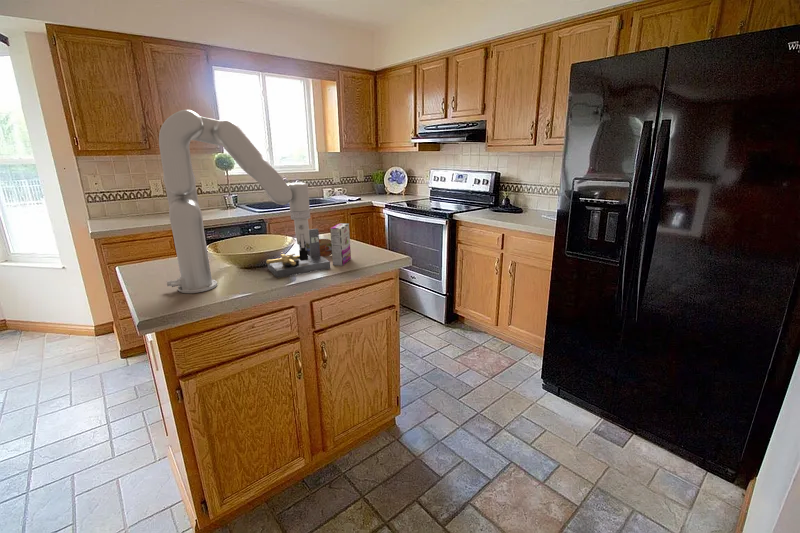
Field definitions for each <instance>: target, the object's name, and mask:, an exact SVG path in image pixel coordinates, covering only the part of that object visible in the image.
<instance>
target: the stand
mask: <svg viewBox="0 0 800 533" xmlns="http://www.w3.org/2000/svg"><path fill="white" fill-rule="evenodd" d="M309 236H310V244H309V245H310V256H309V255H308V260H302V261H301V260H300V259H296V260H299V264H298V265H294V266H284V265H282V262H277V263H271V264H267V263H266V265H267V270H268V269H269V270H268V271H269V272H270V273H271V274H273V275H274V276H275V277H276V278H277V279H279V278H278V277H280V278H285V277H290V275H291V276H297V275H302V274H306V273H312V272H318V271H323V270H328V269H331V261H329V260H328V259H327V258H326V257H321V256H320V247H319V239H320V235H319V228H312V229H310V228H309ZM296 274H297V275H296ZM284 276H285V277H284Z"/></svg>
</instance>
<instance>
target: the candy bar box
mask: <svg viewBox="0 0 800 533" xmlns="http://www.w3.org/2000/svg"><path fill="white" fill-rule="evenodd" d="M329 230H330V240H331V246H332V255H331V257H332V258H331V259H332V265H333V266H339V267H341V266H345V265H346V264H347V263H348V262H349V261H350V260H351V259H352V254H351V253H352V251H351V237H350V223H338V224H335V225H334V226H332V227H330V228H329Z"/></svg>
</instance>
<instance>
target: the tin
mask: <svg viewBox="0 0 800 533" xmlns="http://www.w3.org/2000/svg"><path fill="white" fill-rule="evenodd" d="M306 246H307V251H308V256H310V245H309V244H308V243H306ZM319 247H320V256H321V257H323V258H327V257H330V256H332V246H331V239H330V238H319Z"/></svg>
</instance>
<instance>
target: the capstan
mask: <svg viewBox="0 0 800 533" xmlns="http://www.w3.org/2000/svg"><path fill="white" fill-rule="evenodd" d="M280 254H281V253H280ZM280 254H279V256H281V257H280V258H273V259H266V265H267V264H271V263H277V262H282V265H284V266H294V265H298V264H299V260H296V259H300V254H299V255H296V254H295V253H290V254H285V253H284V254H281V255H280Z"/></svg>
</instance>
